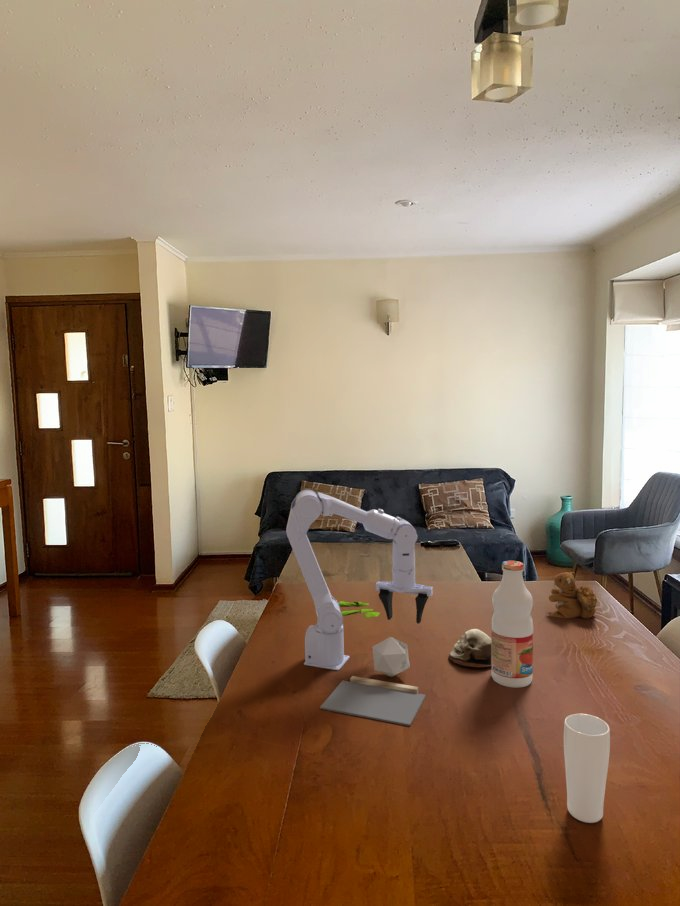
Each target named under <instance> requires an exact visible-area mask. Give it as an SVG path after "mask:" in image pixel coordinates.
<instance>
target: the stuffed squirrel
mask: <svg viewBox="0 0 680 906" xmlns="http://www.w3.org/2000/svg"><path fill="white" fill-rule="evenodd" d="M575 575H576V573H575V571H571V572H567V571H565V572H560V573H558V574H557V575H555V576H554V578H553V582H554V583H553V586H554V588H552V589H551V590H550V592H551V594H549V596H548V600H549V601H550V602H551V603H556V604H555V607H556V610H557V611H555V610H554V611H553V612H551V613H550V616H551V617H554V618H555V617H556V618H562V619H563V618H564V619H575V618H582V619H590V618H592V617H594V615H595V614H596V612H597V609H596V607H597V604H598V599H597V596H596V594H595V593H594V591H593V590H592V589H591V588H590V587H589V586H579V587H578V588H577V585H576V579H575Z"/></svg>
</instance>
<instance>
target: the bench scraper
mask: <svg viewBox="0 0 680 906" xmlns="http://www.w3.org/2000/svg"><path fill="white" fill-rule="evenodd" d="M425 699H426V694H423V693H419V692H418V693H413V692H407V691H401V690H395V689H389V688H384V687H378V686H372V685H366V684H360V683H354V682H350V681H347V680H341V682H339V684H338V685H337V686H336V687H335V688H334V690H333V691H332V692H331V693H330V695H329V696H328V697H327V698H326V699H325V701H324V702H323V703H322V705H320V706H319V709H320V710H324V711H325V710H326V711H329V712H336V713H340V714H345V715H350V716H356V717H361V718H366V719H371V720H377V721H381V722H385V723H386V722H387V723H390V724H391V723H392V724H397V725H402V726H407V727H411V725H412V724H413V722H414V720H415V718H416V716H417V714H418V712H419V710H420V708H421V707H422V704H423V703H424V701H425Z"/></svg>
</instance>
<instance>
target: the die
mask: <svg viewBox="0 0 680 906" xmlns="http://www.w3.org/2000/svg"><path fill="white" fill-rule="evenodd" d="M372 657H373V658H372V659H373V667H374V668H373V669H374V671H376V672H379V673H382V674H384V675H385V676H387V677H390V678H392V677H394V676H396V675H398V674H400V673H402V672H404V671H405V670H407V669H409V668H411V665H410V660H409V659H410V657H409V648H408V644H407V643H405V642H403V641H400V640H399V639H397V638H394V637H392V636H390V637H388V638H386V639H384V640H382V641H380V642H378V643H377V644H374V645H373V646H372Z"/></svg>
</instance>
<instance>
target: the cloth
mask: <svg viewBox="0 0 680 906" xmlns="http://www.w3.org/2000/svg"><path fill="white" fill-rule="evenodd" d="M338 603H339V606H340V608H341V607H368V606H370V605H369V603H368V602H367V603H366V602H361V601H352V602H348V601H343V600H340V601H339V602H338ZM373 610H374V609H373V608H363V609H362V608H361V609H360V610H359V609H358V610H357V609H353V610H352V609H351V610H343V611H340V612H341V614H342V616H343V617H345V616H348V615H353V614H359V613H361V614H363V613H364V616H363V617H364V618H368V619H369V618H373V617H375V618H376V617H379V615H381V612H377V611H373Z"/></svg>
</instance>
